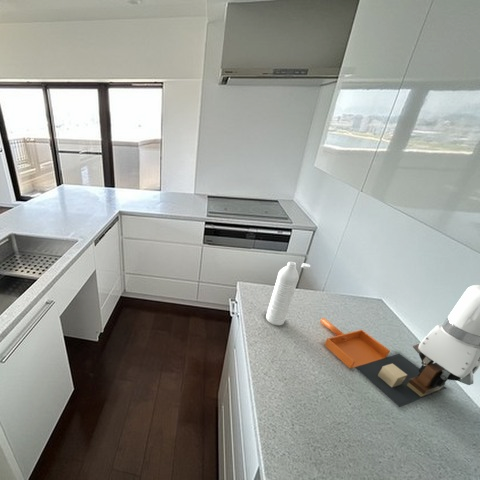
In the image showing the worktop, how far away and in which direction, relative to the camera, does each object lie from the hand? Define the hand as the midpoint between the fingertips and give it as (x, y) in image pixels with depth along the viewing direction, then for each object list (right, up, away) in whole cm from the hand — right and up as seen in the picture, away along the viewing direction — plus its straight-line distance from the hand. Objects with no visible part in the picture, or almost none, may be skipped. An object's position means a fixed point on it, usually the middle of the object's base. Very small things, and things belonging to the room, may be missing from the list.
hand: (428, 380), depth 72 cm
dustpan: (-13, +4, +16) cm, 21 cm away
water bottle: (-31, +9, +24) cm, 41 cm away
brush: (0, -3, +1) cm, 3 cm away
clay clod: (-8, -2, +3) cm, 9 cm away
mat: (-4, -2, +4) cm, 6 cm away
